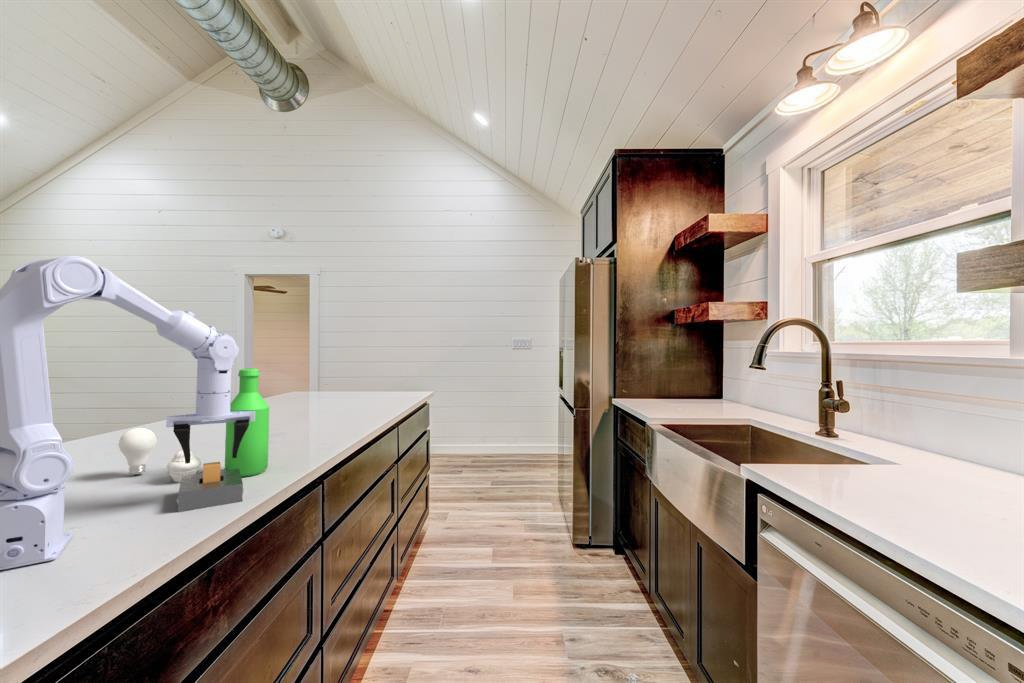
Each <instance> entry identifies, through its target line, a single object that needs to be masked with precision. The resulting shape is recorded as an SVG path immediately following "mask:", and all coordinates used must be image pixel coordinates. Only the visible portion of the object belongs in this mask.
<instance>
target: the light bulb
mask: <svg viewBox="0 0 1024 683" xmlns="http://www.w3.org/2000/svg"><path fill="white" fill-rule="evenodd" d="M156 445H157V436H156V434H155V432H154V431H152V430H151V429H149V428H145V427H135V428H131V429H129V430H127V431H126V432H124V433H123V434H122V435H121V437H120V438H119V440H118V448H119V451H120V452H121V453H122V454H123V456H124V457H125V459H126V460H127V465H128V466H129V468H128V474H130V475H132V476H133V475H134V476H139V475H141V474H144V473H145V472H146V466H147V465H146V464H147V463H148V458H149V456H150V454H151V453H152V452H153V450H154V448H155V447H156Z"/></svg>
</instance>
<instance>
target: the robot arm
mask: <svg viewBox="0 0 1024 683" xmlns="http://www.w3.org/2000/svg"><path fill="white" fill-rule="evenodd" d="M80 300H90V301H103V302H107V303H110V304H112V305H114V306H115V307H118V308H120V309H121V310H124V311H127V312H128V313H130V314H132V315H135V316H136V317H139V318H141V319H142V320H145V321H147V322H148V323H150V324H153V325H155V328H156V331H157V333H158V335H159V336H160V337H162V338H164V339H166V340H168V341H169V342H172V343H174V344H176V345H177V346H180V347H181V348H183V349H185V350H188V352H190V353H191V355H192V356H193V358H194V359H195V360H197V363H196V364H197V368H196V392H195V393H196V394H195V395H196V397H195V399H196V400H195V413H187V414H179V415H168V416H167V417H166V425H165V426H166V427H165V428H173V433H174V435H175V437H176V438H177V441H178V442H179V445H180V446H181V449H182V450H183V453H184V456H185V463H190V450H191V447H190V443H191V442H190V441H191V440H190V439H191V426H196V425H197V426H198V425H199V426H200V425H213V424H224V423H225V424H226V423H229V422H234V442H233V450H232V458H237V452H238V449H239V445H240V443H241V440H242V438H243V436H244V434H245V432H246V430H247V429H248V427H249V421H255V411H239V412H230V404H231V400H232V399H231V395H232V394H231V392H232V368H233V367H234V366H233V365H234V361H235V359H236V357H237V356H238V355H239V353H240V347H239V346H237V342H236V341H235V339H234V338H233V337H232V336H231V335H230V334H226V333H218V332H217V328H216V327H214V326H213V325H207V324H206V323H204V322H203V321H200V320H199V319H197V318H195V316H196V314H195V313H193V312H192V311H190V310H187V311H184V310H181V309H176V310H169V309H168V308H166V307H164V306H163V305H161V304H159V303H158V302H156V301H155V300H154V299H152V298H150V297H148V296H147V295H146V294H144V293H143V292H141V291H140V290H138V289H136V288H134V287H133V286H131V285H130V284H129V283H127V282H125V281H124V280H122V279H121V278H119V277H118V276H117V275H116V274H114V272H112V271H110V269H108V268H105V267H102V266H98V265H97V264H95V263H94V262H93V261H91V260H90V259H88V258H86V257H82V256H78V255H63V256H60V257H55V258H46V259H45V258H43V259H36V260H33V261H30V262H28V263H26V264H24V265H21V266H20V267H17V268H15V269H13V270H12V271H11V273H10V276H9V278H8V279H7V281H6V282H5V283H4V284H3V286H1V288H0V571H3V570H8V569H14V568H18V567H24V566H29V565H34V564H39V563H44V562H49V561H53V560H56V559H58V557H59V555H60V553H62V551H63V550H64V549H65V547H66V546H67V544H68V543H69V541H70V540H71V539H72V537H73V532H66V533H65V504H66V502H65V500H66V499H65V498H66V497H65V496H66V487H65V486H66V482H67V481H68V480H69V478H70V477H71V476H72V474H73V471H74V467H75V465H74V461H73V458H72V456H71V455H70V454H69V453H68V452H67V451H66V450H65V448H64V445H63V444H64V443H63V438H62V436H61V435H60V433H59V431H58V430H57V428H56V427H55V425H54V420H53V412H52V410H53V409H52V400H51V391H50V388H51V387H50V378H49V368H48V359H47V358H48V357H47V348H46V347H47V346H46V339H45V338H46V336H45V328H44V320H45V318H47V317H49V316H50V315H51V314H53V313H54V312H56V311H58V310H59V309H60V308H62V307H64V306H65V305H67V304H70V303H73V302H76V301H80ZM230 419H231V420H230Z"/></svg>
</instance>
